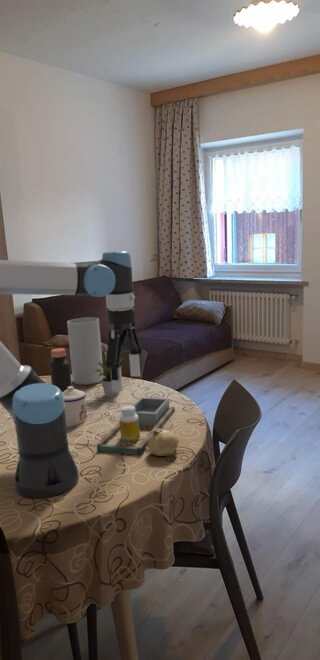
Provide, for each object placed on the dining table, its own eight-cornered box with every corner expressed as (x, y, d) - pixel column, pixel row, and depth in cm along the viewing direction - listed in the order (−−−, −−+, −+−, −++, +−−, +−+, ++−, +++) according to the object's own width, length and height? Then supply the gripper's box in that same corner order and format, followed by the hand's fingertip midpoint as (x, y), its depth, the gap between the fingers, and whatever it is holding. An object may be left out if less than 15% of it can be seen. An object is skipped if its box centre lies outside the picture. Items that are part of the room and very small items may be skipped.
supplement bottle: (139, 443, 142) (136, 411, 140) (120, 444, 143) (117, 411, 141) (140, 436, 148) (138, 404, 146) (122, 436, 148) (120, 405, 146)
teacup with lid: (86, 426, 158) (82, 390, 155) (57, 428, 158) (53, 392, 155) (90, 412, 169) (87, 379, 167) (63, 414, 169) (60, 381, 167)
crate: (156, 426, 152) (155, 414, 151) (126, 424, 155) (125, 412, 154) (169, 410, 165) (169, 398, 164) (142, 409, 168) (141, 397, 167)
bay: (141, 454, 135) (141, 447, 135) (97, 450, 139) (96, 444, 139) (175, 412, 165) (174, 406, 164) (137, 410, 169) (137, 404, 168)
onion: (164, 444, 141) (162, 420, 140) (184, 452, 135) (183, 427, 134) (142, 454, 136) (140, 429, 134) (162, 463, 130) (161, 437, 129)
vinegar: (73, 406, 176) (67, 351, 172) (53, 408, 175) (47, 352, 171) (73, 400, 183) (68, 346, 179) (54, 402, 182) (48, 348, 178)
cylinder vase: (94, 374, 215) (89, 316, 210) (109, 380, 205) (104, 319, 200) (67, 381, 208) (61, 321, 203) (81, 387, 198) (75, 324, 193)
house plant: (86, 392, 191) (82, 350, 188) (121, 386, 196) (118, 345, 193) (97, 403, 178) (93, 358, 175) (133, 396, 183) (130, 352, 180)
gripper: (115, 316, 125) (122, 398, 129) (148, 301, 148) (153, 370, 152) (88, 317, 127) (95, 397, 132) (125, 301, 151) (130, 370, 155)
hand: (127, 383), depth 142 cm, fingers open, 13 cm apart
